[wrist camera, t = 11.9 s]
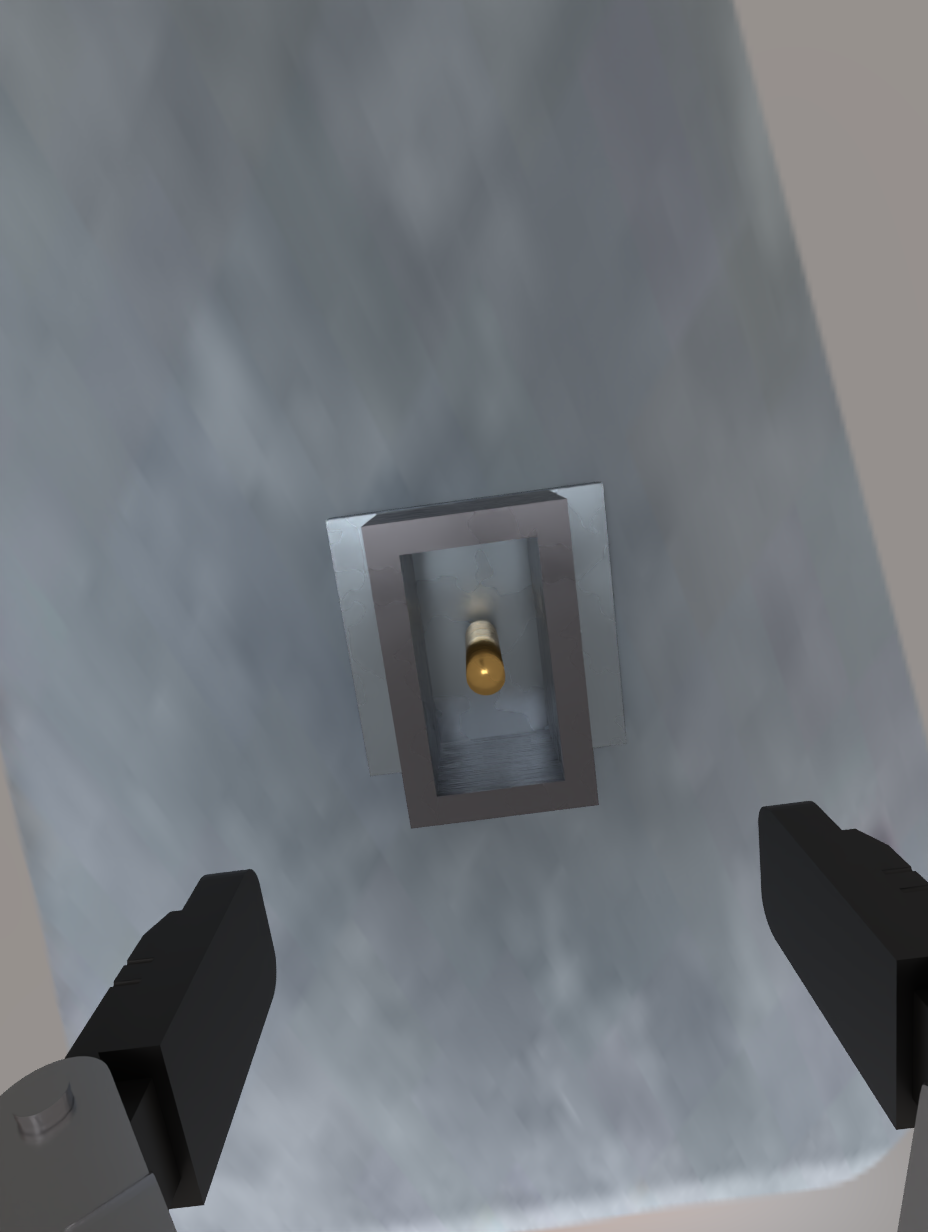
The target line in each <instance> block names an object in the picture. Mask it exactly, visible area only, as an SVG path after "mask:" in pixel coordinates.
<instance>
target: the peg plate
mask: <svg viewBox="0 0 928 1232" xmlns="http://www.w3.org/2000/svg"><path fill="white" fill-rule="evenodd" d="M547 490H550V491H552V492H554V493H556V494H558V495H560V496H563V497H565V498H567V503H568V513H569V523H570V532H571V542H572V552H573V561H574V571H575V581H576V590H577V600H578V610H579V619H580V629H581V639H582V648H583V658H584V668H585V677H586V687H587V697H588V706H589V716H590V726H591V735H592V745H593V748H598V747H605V746H613V745H621V744H626V734H625V723H624V712H623V701H622V690H621V679H620V668H619V657H618V646H617V634H616V623H615V612H614V601H613V590H612V579H611V568H610V557H609V546H608V535H607V524H606V513H605V502H604V491H603V483H601V482H593V483H585V484H578V485H570V486H563V487H556V488H548V489H541V490H533V491H526V492H519V493H511V494H504V495H497V496H489V497H482V498H474V499H467V500H460V501H452V502H445V503H437V504H430V505H423V506H415V507H408V508H400V509H393V510H386V511H378V512H371V513H364V514H356V515H349V516H341V517H334V518H329V519H328V520H326V526H327V532H328V537H329V543H330V549H331V554H332V560H333V566H334V572H335V577H336V583H337V589H338V594H339V600H340V606H341V612H342V617H343V623H344V629H345V634H346V640H347V646H348V652H349V657H350V663H351V669H352V674H353V680H354V686H355V692H356V697H357V703H358V709H359V715H360V720H361V726H362V732H363V737H364V743H365V749H366V755H367V760H368V766H369V772H370V776H376V775H384V774H392V773H400V772H402V771H401V765H400V759H399V753H398V747H397V741H396V735H395V729H394V723H393V717H392V711H391V705H390V699H389V693H388V687H387V681H386V675H385V669H384V663H383V657H382V651H381V645H380V639H379V633H378V627H377V621H376V615H375V609H374V603H373V597H372V591H371V584H370V578H369V572H368V566H367V560H366V554H365V548H364V542H363V536H362V530H361V526H363V525H364V524H365V523H366V522H368V521H369V520H370V519H371V518H373V517H374V516H375V515H376V514H379V513H386V512H394V511H401V510H408V509H416V508H423V507H430V506H437V505H445V504H452V503H459V502H467V501H474V500H481V499H488V498H496V497H503V496H510V495H518V494H525V493H532V492H539V491H547ZM412 559H413V566H414V572H415V579H416V585H417V592H418V598H419V605H420V612H421V618H422V625H423V631H424V638H425V644H426V651H427V658H428V664H429V671H430V677H431V684H432V690H433V697H434V703H435V710H436V717H437V723H438V730H439V736H440V743H445V742H453V741H460V740H468V739H476V738H484V737H491V736H499V735H507V734H515V733H522V732H530V731H538V730H546V729H549V726H548V717H547V709H546V700H545V691H544V683H543V674H542V666H541V657H540V649H539V640H538V632H537V623H536V614H535V606H534V597H533V589H532V580H531V572H530V563H529V555H528V546H527V538H522V539H515V540H508V541H500V542H493V543H486V544H478V545H471V546H463V547H456V548H449V549H441V550H434V551H427V552H419V553H412Z"/></svg>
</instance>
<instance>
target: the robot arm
mask: <svg viewBox="0 0 928 1232" xmlns="http://www.w3.org/2000/svg"><path fill="white" fill-rule="evenodd" d="M758 826H759V848H760V870H761V892H762V901H763V907H764V911H765V915H766V919H767V922H768V925H769V927H770V930H771V932H772V934H773V936H774V938H775V940H776V941H777V943H778V944H779V946H780V948H781V949H782V951H783V952H784V954H785V955H786V957H787V959H788V960H789V962H790V963H791V965H792V966H793V968H794V970H795V971H796V973H797V974H798V976H799V977H800V979H801V981H802V982H803V984H804V985H805V987H806V989H807V990H808V992H809V993H810V995H811V996H812V998H813V1000H814V1001H815V1003H816V1004H817V1006H818V1007H819V1009H820V1011H821V1012H822V1014H823V1015H824V1017H825V1018H826V1020H827V1022H828V1023H829V1025H830V1026H831V1028H832V1029H833V1031H834V1033H835V1034H836V1036H837V1037H838V1039H839V1040H840V1042H841V1044H842V1045H843V1047H844V1048H845V1050H846V1052H847V1053H848V1055H849V1056H850V1058H851V1059H852V1061H853V1063H854V1064H855V1066H856V1067H857V1069H858V1070H859V1072H860V1074H861V1075H862V1077H863V1078H864V1080H865V1081H866V1083H867V1085H868V1086H869V1088H870V1089H871V1091H872V1092H873V1094H874V1096H875V1097H876V1099H877V1100H878V1102H879V1103H880V1105H881V1107H882V1108H883V1110H884V1111H885V1113H886V1114H887V1116H888V1118H889V1119H890V1121H891V1122H892V1124H893V1126H894V1127H895V1129H896V1130H898V1129H907V1128H914V1134H913V1141H912V1146H911V1152H910V1159H909V1165H908V1170H907V1177H906V1183H905V1189H904V1195H903V1201H902V1207H901V1214H900V1219H899V1226H898V1231H897V1232H928V882H927V881H926V880H925V879H924V878H923V877H921V876H920V875H919V874H918V873H917V872H916V871H912V869H911V866H910V865H909V864H908V863H907V862H906V861H904V860H903V859H902V858H901V857H900V856H899V855H898V854H897V853H896V852H895V851H894V850H893V849H892V848H891V847H890V846H889V845H887V844H885V843H883V842H881V841H879V840H877V839H875V838H873V837H871V836H869V835H867V834H865V833H863V832H861V831H859V830H857V829H849V830H841V829H840V828H839V827H838V826H837V825H836V824H835V823H834V822H833V821H832V820H831V819H830V818H829V817H828V816H827V815H826V814H825V813H824V811H823V810H822V809H821V808H820V807H819V806H818V805H817V804H815V803H814V802H812V801H805V802H797V803H789V804H781V805H773V806H765V807H762V808H761V809H760V812H759V818H758ZM275 985H276V957H275V951H274V947H273V942H272V938H271V933H270V929H269V924H268V920H267V915H266V911H265V906H264V902H263V897H262V893H261V888H260V884H259V880H258V877H257V875H256V873H255V872H254V871H253V870H252V869H248V870H240V871H232V872H224V873H216V874H208V875H204V876H203V877H202V878H201V879H200V881H199V882H198V884H197V886H196V887H195V889H194V891H193V892H192V894H191V896H190V898H189V899H188V901H187V903H186V904H185V906H184V908H183V909H182V910H180V911H172V912H170V913H168V914H167V915H166V916H165V917H164V918H163V919H161V920H160V921H159V922H158V923H157V924H156V925H154V926H153V927H152V928H151V929H150V930H149V931H148V932H146V933H145V934H144V935H143V937H142V938H141V940H140V941H139V943H138V944H137V946H136V947H135V949H134V951H133V952H132V954H131V955H130V957H129V958H128V960H127V965H124V966H123V968H122V969H121V971H120V973H119V974H118V976H117V977H116V979H115V980H114V986H113V987H110V988H109V990H108V991H107V993H106V994H105V996H104V998H103V999H102V1001H101V1002H100V1004H99V1005H98V1007H97V1009H96V1010H95V1012H94V1013H93V1015H92V1016H91V1018H90V1020H89V1021H88V1023H87V1024H86V1026H85V1027H84V1029H83V1030H82V1032H81V1034H80V1035H79V1037H78V1038H77V1040H76V1041H75V1043H74V1045H73V1046H72V1048H71V1049H70V1051H69V1052H68V1054H67V1056H66V1057H65V1059H63V1060H59V1061H56V1062H53V1063H51V1064H48V1065H46V1066H44V1067H42V1068H39V1069H37V1070H35V1071H34V1072H32V1073H30V1074H29V1075H27V1076H25V1077H24V1078H22V1079H21V1080H20V1081H18V1082H17V1083H15V1084H14V1085H12V1086H11V1087H10V1088H9V1089H8V1090H6V1091H5V1092H4V1093H3V1094H2V1095H1V1096H0V1232H177V1231H176V1229H175V1226H174V1224H173V1221H172V1218H171V1216H170V1213H169V1209H174V1208H182V1207H191V1206H200V1205H204V1203H205V1200H206V1197H207V1194H208V1191H209V1188H210V1185H211V1182H212V1179H213V1176H214V1173H215V1170H216V1167H217V1164H218V1161H219V1158H220V1155H221V1152H222V1149H223V1146H224V1143H225V1140H226V1137H227V1134H228V1131H229V1128H230V1125H231V1122H232V1119H233V1116H234V1113H235V1110H236V1107H237V1104H238V1101H239V1098H240V1095H241V1092H242V1089H243V1086H244V1083H245V1080H246V1077H247V1074H248V1071H249V1068H250V1065H251V1062H252V1059H253V1056H254V1053H255V1050H256V1047H257V1044H258V1041H259V1038H260V1035H261V1032H262V1029H263V1026H264V1023H265V1020H266V1017H267V1014H268V1011H269V1008H270V1005H271V1002H272V999H273V996H274V991H275Z"/></svg>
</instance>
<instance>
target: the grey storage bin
mask: <svg viewBox="0 0 928 1232" xmlns="http://www.w3.org/2000/svg"><path fill="white" fill-rule="evenodd" d="M361 530H362V536H363V542H364V548H365V554H366V560H367V566H368V572H369V578H370V584H371V591H372V597H373V603H374V609H375V615H376V621H377V627H378V633H379V639H380V645H381V651H382V657H383V663H384V669H385V675H386V681H387V687H388V693H389V699H390V705H391V711H392V717H393V723H394V729H395V735H396V741H397V747H398V753H399V759H400V765H401V771H402V777H403V783H404V789H405V795H406V801H407V807H408V813H409V819H410V825H411V828H419V827H427V826H435V825H443V824H451V823H459V822H467V821H475V820H483V819H490V818H498V817H506V816H514V815H522V814H530V813H538V812H546V811H554V810H562V809H570V808H578V807H586V806H594V805H599V803H598V793H597V784H596V774H595V764H594V755H593V745H592V735H591V726H590V716H589V706H588V697H587V687H586V677H585V668H584V658H583V648H582V639H581V629H580V619H579V610H578V600H577V590H576V581H575V571H574V561H573V552H572V542H571V532H570V523H569V513H568V503H567V498H565V497H563V496H560V495H558V494H556V493H554V492H552V491H550V490H547V491H539V492H532V493H525V494H518V495H510V496H503V497H496V498H488V499H481V500H474V501H467V502H459V503H452V504H445V505H437V506H430V507H423V508H416V509H408V510H401V511H394V512H386V513H379V514H376V515H375V516H374V517H373V518H371V519H370V520H369V521H368V522H366V523H365V524H364V525H363V526H361ZM522 538H527V546H528V555H529V563H530V572H531V580H532V589H533V597H534V606H535V614H536V623H537V632H538V640H539V649H540V657H541V666H542V674H543V683H544V691H545V700H546V709H547V717H548V726H549V729H546V730H538V731H530V732H522V733H515V734H507V735H499V736H491V737H484V738H476V739H468V740H460V741H453V742H445V743H440V736H439V730H438V723H437V717H436V710H435V703H434V697H433V690H432V684H431V677H430V671H429V664H428V658H427V651H426V644H425V638H424V631H423V625H422V618H421V612H420V605H419V598H418V592H417V585H416V579H415V572H414V566H413V559H412V553H419V552H427V551H434V550H441V549H449V548H456V547H463V546H471V545H478V544H486V543H493V542H500V541H508V540H515V539H522Z"/></svg>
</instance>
